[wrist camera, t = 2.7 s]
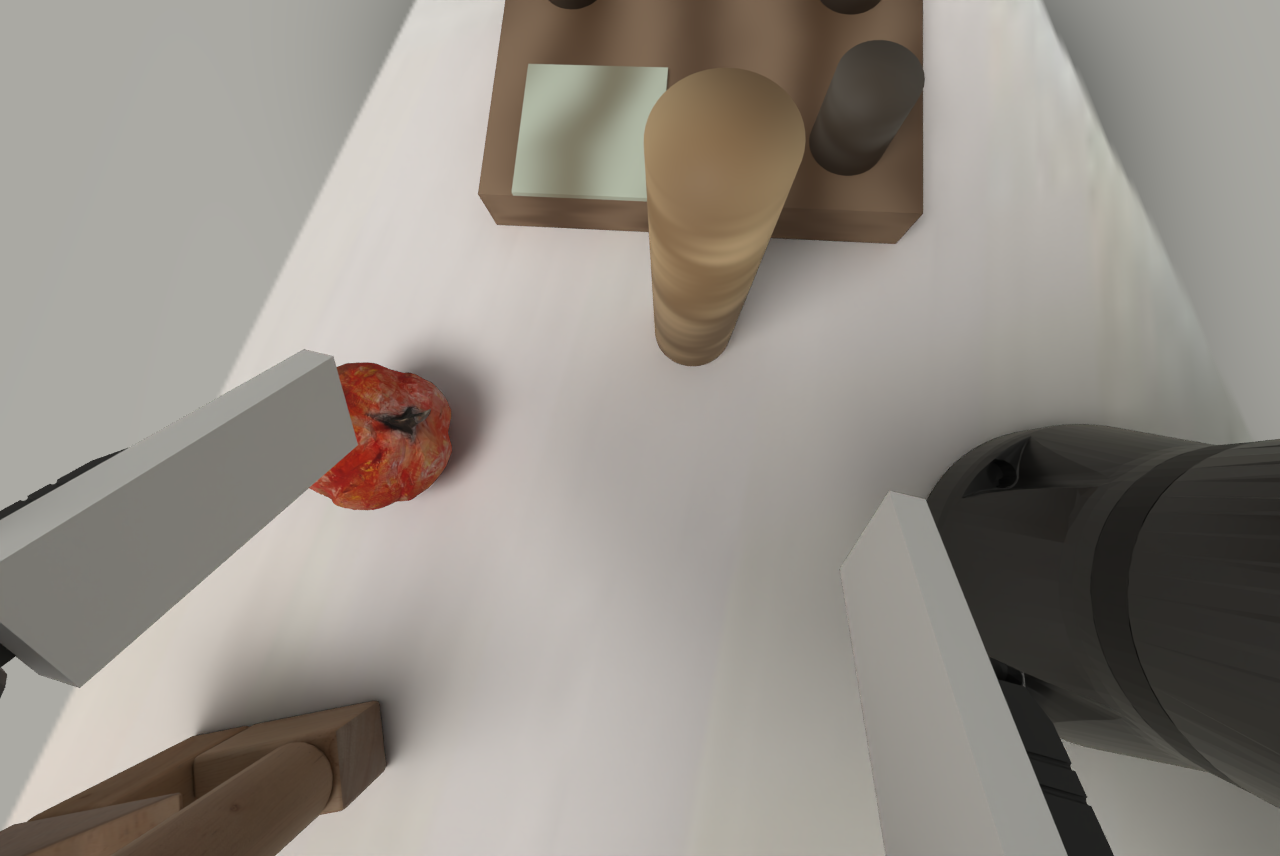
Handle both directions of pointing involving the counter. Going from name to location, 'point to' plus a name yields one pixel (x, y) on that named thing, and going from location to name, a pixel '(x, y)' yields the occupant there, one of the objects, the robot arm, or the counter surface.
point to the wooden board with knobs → (678, 47)
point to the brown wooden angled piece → (218, 792)
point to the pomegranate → (388, 438)
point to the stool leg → (714, 200)
